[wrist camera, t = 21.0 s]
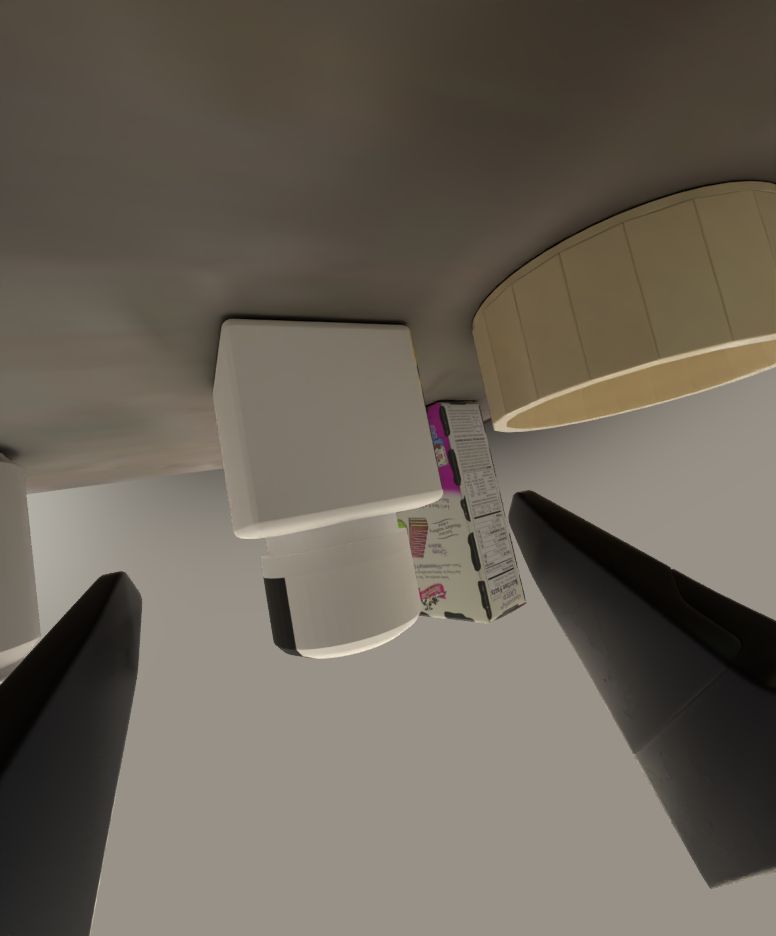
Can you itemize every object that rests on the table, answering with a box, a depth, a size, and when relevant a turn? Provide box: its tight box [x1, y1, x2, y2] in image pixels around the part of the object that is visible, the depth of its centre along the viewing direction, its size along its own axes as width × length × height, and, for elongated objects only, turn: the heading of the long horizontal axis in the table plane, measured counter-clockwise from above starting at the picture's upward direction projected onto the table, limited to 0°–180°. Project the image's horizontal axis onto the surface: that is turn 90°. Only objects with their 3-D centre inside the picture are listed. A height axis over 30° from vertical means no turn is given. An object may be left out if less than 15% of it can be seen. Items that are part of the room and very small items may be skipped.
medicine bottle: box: [213, 319, 443, 658], centre depth 17 cm, size 7×7×12 cm
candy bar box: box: [396, 401, 526, 623], centre depth 35 cm, size 11×5×16 cm, turn 142°
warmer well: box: [472, 181, 776, 432], centre depth 17 cm, size 11×11×4 cm
